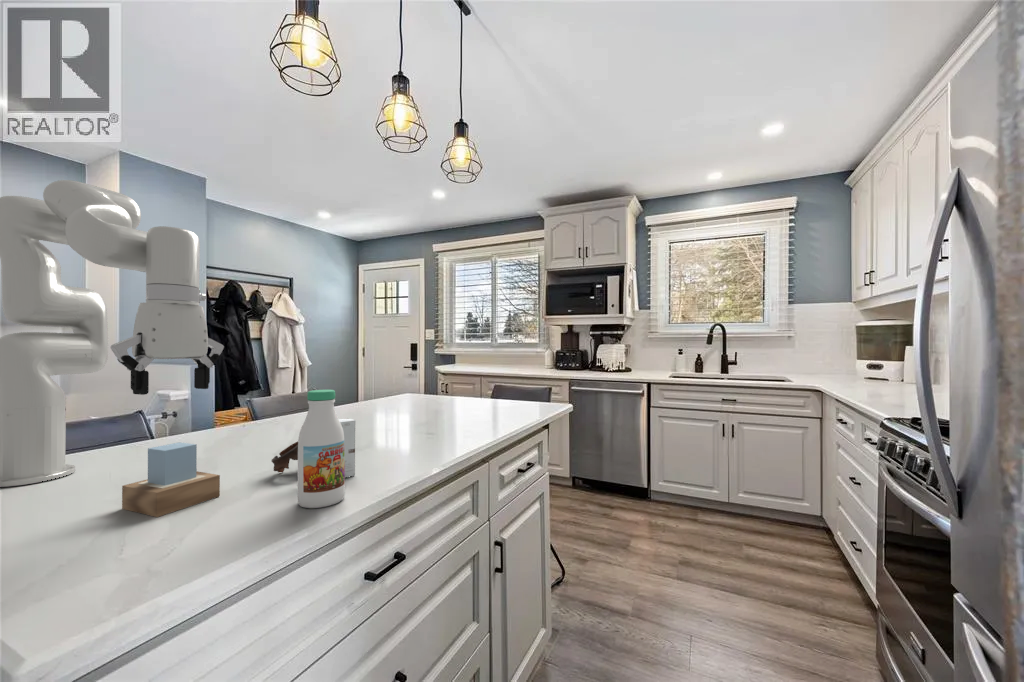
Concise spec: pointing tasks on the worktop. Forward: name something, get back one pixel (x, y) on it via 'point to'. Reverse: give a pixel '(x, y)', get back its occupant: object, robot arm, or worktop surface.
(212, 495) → the walnut plinth
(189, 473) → the slate block
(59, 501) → the worktop surface
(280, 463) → the brown segmented ring
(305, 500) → the milk bottle
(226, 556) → the worktop surface
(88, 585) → the worktop surface
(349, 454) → the skincare box
